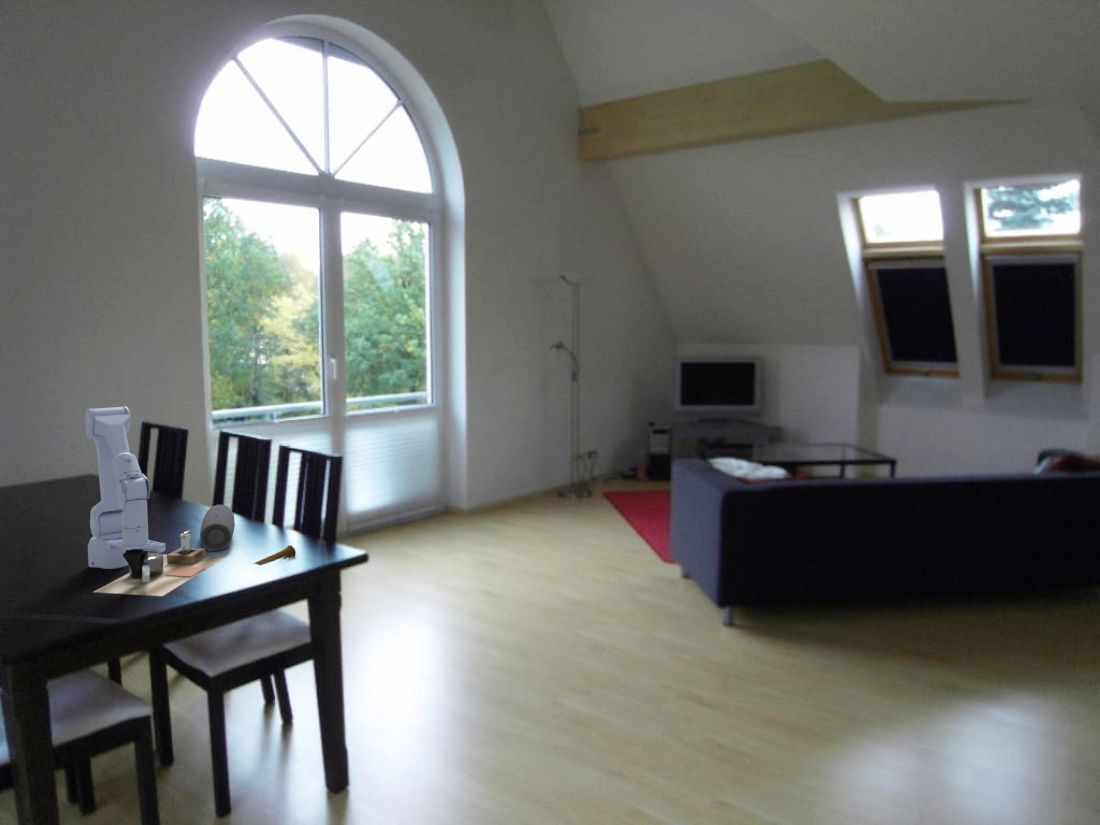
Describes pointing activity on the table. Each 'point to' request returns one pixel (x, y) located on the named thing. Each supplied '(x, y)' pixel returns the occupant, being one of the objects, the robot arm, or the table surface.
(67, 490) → the table surface
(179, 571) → the tile
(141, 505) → the robot arm
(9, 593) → the table surface
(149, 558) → the grey cylinder with handle
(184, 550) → the key peg
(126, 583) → the board
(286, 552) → the primitive tool
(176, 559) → the socket block
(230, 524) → the bluetooth speaker
